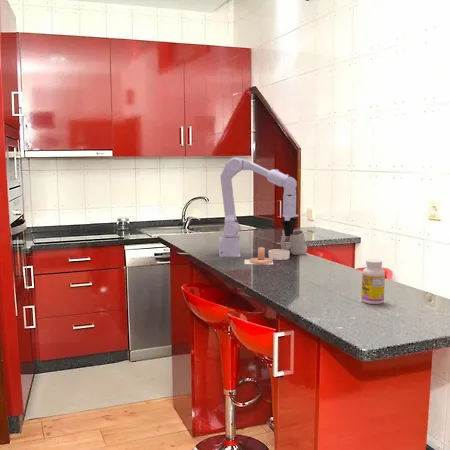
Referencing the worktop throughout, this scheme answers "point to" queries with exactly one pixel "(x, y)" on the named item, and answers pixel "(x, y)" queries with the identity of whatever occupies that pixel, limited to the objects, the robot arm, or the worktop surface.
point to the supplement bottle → (373, 282)
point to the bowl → (279, 254)
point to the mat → (251, 263)
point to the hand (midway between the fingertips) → (288, 235)
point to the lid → (261, 257)
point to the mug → (295, 242)
